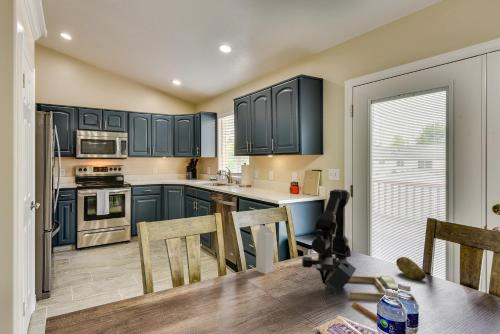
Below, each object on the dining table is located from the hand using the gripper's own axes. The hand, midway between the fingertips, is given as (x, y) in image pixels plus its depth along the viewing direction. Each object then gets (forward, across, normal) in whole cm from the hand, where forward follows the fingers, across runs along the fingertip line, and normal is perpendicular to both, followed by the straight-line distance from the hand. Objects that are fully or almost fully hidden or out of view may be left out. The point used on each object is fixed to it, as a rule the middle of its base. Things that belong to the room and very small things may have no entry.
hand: (323, 283), depth 124 cm
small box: (0, +4, 0) cm, 4 cm away
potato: (0, +42, +18) cm, 46 cm away
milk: (+3, -26, +15) cm, 30 cm away
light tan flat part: (+1, +20, +1) cm, 20 cm away
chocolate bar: (+3, +13, -18) cm, 22 cm away
